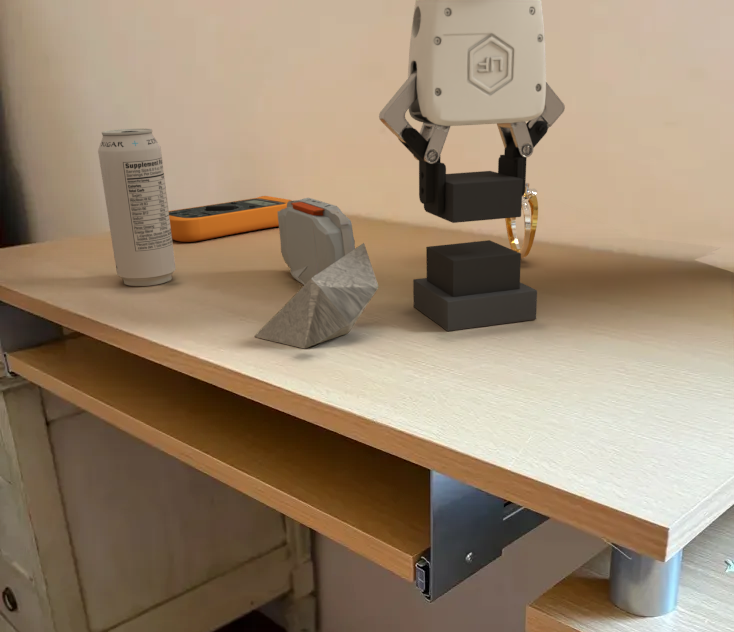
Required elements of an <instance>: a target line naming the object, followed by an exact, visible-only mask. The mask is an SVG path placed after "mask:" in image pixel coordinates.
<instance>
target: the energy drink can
mask: <svg viewBox="0 0 734 632" xmlns="http://www.w3.org/2000/svg"><path fill="white" fill-rule="evenodd" d="M101 135H102V138H101V141H100V143H99V146H98V150H97V154H98V159H99V160H98V161H99V166H100V173H101V180H102V186H103V192H104V199H105V206H106V212H107V218H108V225H109V231H110V237H111V244H112V250H113V251H112V252H113V258H114V264H115V270H116V276H118V277H119V278H121V279H122V281H123V284H124V285H126V286H129V287H147V286H149V287H151V286H157V285H161V284H162V285H163V284H165V283H168V282H170V281H171V280H173V279H172V278H173V276H172V275H173V273H174V272H175V271H176V270H177V269H176V267H177V266H176V258H175V252H174V251H175V250H174V243H173V242H174V241H173V240H172V234H171V226H170V218H169V211H170V210H169V203H168V196H167V195H168V194H167V187H166V180H165V171H164V162H163V156H162V147H161V146H160V143H159V142H158V140H157V139H156V138H155V137H154V135H153V129H152V128H123V129H122V128H121V129H112V130H111V129H110V130H104V131H101Z"/></svg>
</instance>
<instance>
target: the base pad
mask: <svg viewBox="0 0 734 632" xmlns="http://www.w3.org/2000/svg"><path fill="white" fill-rule="evenodd" d="M412 287H413V288H412V292H413V293H412V297H413V308H415V309H416V310H418V312H420V313H421V314H423V315H425V316H426V317H427V318H428V319H430V320H431V321H433V322H435V324H437V325H438V326H440V327H441V328H443V329H444V330H445V331H447V332H453V331H461V330H465V329H466V330H467V329H473V328H482V327H488V326H489V327H490V326H497V325H504V324H511V323H512V324H513V323H519V322H527V321H534V320H537V309H538V305H537V304H538V290H537V289H535V288H534V287H531V286H529V285H527V284H525V283H523V282H521V281H520V289H515V290H507V291H498V292H490V293H482V294H474V295H466V296H457V297H452V296H451V295H449V294H448V293H446V292H444V291H443V290H441V289H440V288H438V287H436V286H435V285H433V284H431V283H430V282H428V281H427V277H422V278H413V280H412Z"/></svg>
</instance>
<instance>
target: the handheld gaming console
mask: <svg viewBox="0 0 734 632" xmlns="http://www.w3.org/2000/svg"><path fill="white" fill-rule="evenodd" d="M277 212H278V222H279V226H278V230H279V241H280V254H281V256H282V259H283V261H284V263H285V264H286V265H287V267H288V268H289V269H290V272H293V271H296V270H298V269H301V268H304V267H306V266H307V267H308V268H307V269H306V270H305V271H304V272H303V273H302V274H301V276H300V277H299V279H300V280H301V281H302V282H303V283H304V284H306V283H307V282H308V281H309V280H310V279H311V278H313V277H314V276H316V275H317V274H319V273H320V272H321V271H323V270H324V269H326V268H327V267H329V266H330V265H332V264H333V263H335V262H336V261H338V260H339V259H341V258H342V257H344V256H345V255H346V254H348V253H349V252H351V251H352V250H354V249H355V248H356V241H355V237H354V231H353V223H352V220H351V218H349V217H348V216H347V215H346V214H345V213H344V212H343V211H342V210H341V209H340V208H339V207H338V206H337V205H336V204H332V203H328V202H325V201H321V200H318V199H315V198H311V197H304V198H301V199H295V200H292V201H289V202H288V203H287V208H285V209H282V210H280V211H277ZM290 275H291V277H293V279H294V280H296V281H297V282H298V283H300V284H302V283H301V282H300V281H299V280H298V279H296V278H295V277H294V276H293V275H292V274H291V273H290Z"/></svg>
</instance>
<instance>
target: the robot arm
mask: <svg viewBox="0 0 734 632" xmlns="http://www.w3.org/2000/svg"><path fill="white" fill-rule="evenodd" d="M414 4H415V5H414V8H413V14H412V15H413V16H412V22H411V30H410V39H409V40H410V41H409V48H408V49H409V50H408V51H409V52H408V68H407V79H406V80H405V81H404V82H403V84H402V85H401V86H400V87H399V88H398V90H396V92H395V94H394V95H393V96H392V97H391V98H390V100H389V101H388V102H387V103H386V104H385V106H384V107H383V108H382V110H380V112H379V114H378V118H379V120H380V122H381V123H382V124H383V125H384V126H385V127H386V128H387V129H388V130H389V131H390V132H391V133H392V134H393V135H394V136H396V138H397V139H398V141H399V142H400V143H401V144H402V145H403V146H404V147H405V148H406V149H407V150H408V151H409V152H410V153H411V154H412V156H413V158H414V159H415V160H417V161H418V197H419V198H418V199H419V202H420V203H421V204H423V210H424V211H425V212H426V211H428V212H430V213H429V214H431V213H432V214H431V215H433V214H435V215H443V213H445V182H446V174H447V167H446V163H444V162H441V154H442V151H443V149H444V147H445V143H446V141H447V138H448V134H449V132H450V129H451V127H459V126H479V125H494V124H496V126H497V130H498V132H499V136H500V138H501V141H502V144H503V145H502V146H503V147H504V154H500V155H499V157H498V161H497V173H501V174H505V175H509V176H513V177H517V178H521V179H523V184H522V196H523V195H524V193H525V183H527V182H526V180H527V179H526V178H527V160H528V159H527V158H530V157H531V156H532V154H533V153H534V148H535V147H536V146H537V145H538V144H539V142H540V141H541V140H542V139H543V138H544V137H545V136H546V134H547V133H548V130H549V128H550V127H553V125H554V124H555V123H556V121H557V120H558V119H559V118H560V117H561V115H563V113H564V112H565V108H566V107H565V106H566V105H565V104H564V102H563V100H561V98H560V97H559V96H558V94H557V93H556V92H555V91H554V90H553V88H552V87H551V86H550V85H549V83H548V82H547V56H546V55H547V54H546V34H545V33H546V32H545V31H546V30H545V21H544V12H543V4H542V0H415V3H414ZM407 112H408V113H409V115H410V118H412V119H413V120H415V121H417V122H419V123H422V124H421V128H420V131H418V130H417V128H414V127H413V126H412V125H411V124H410V123H409V121H408V120H407V119H406V113H407ZM428 212H427V213H428ZM435 215H434V216H435Z"/></svg>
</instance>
